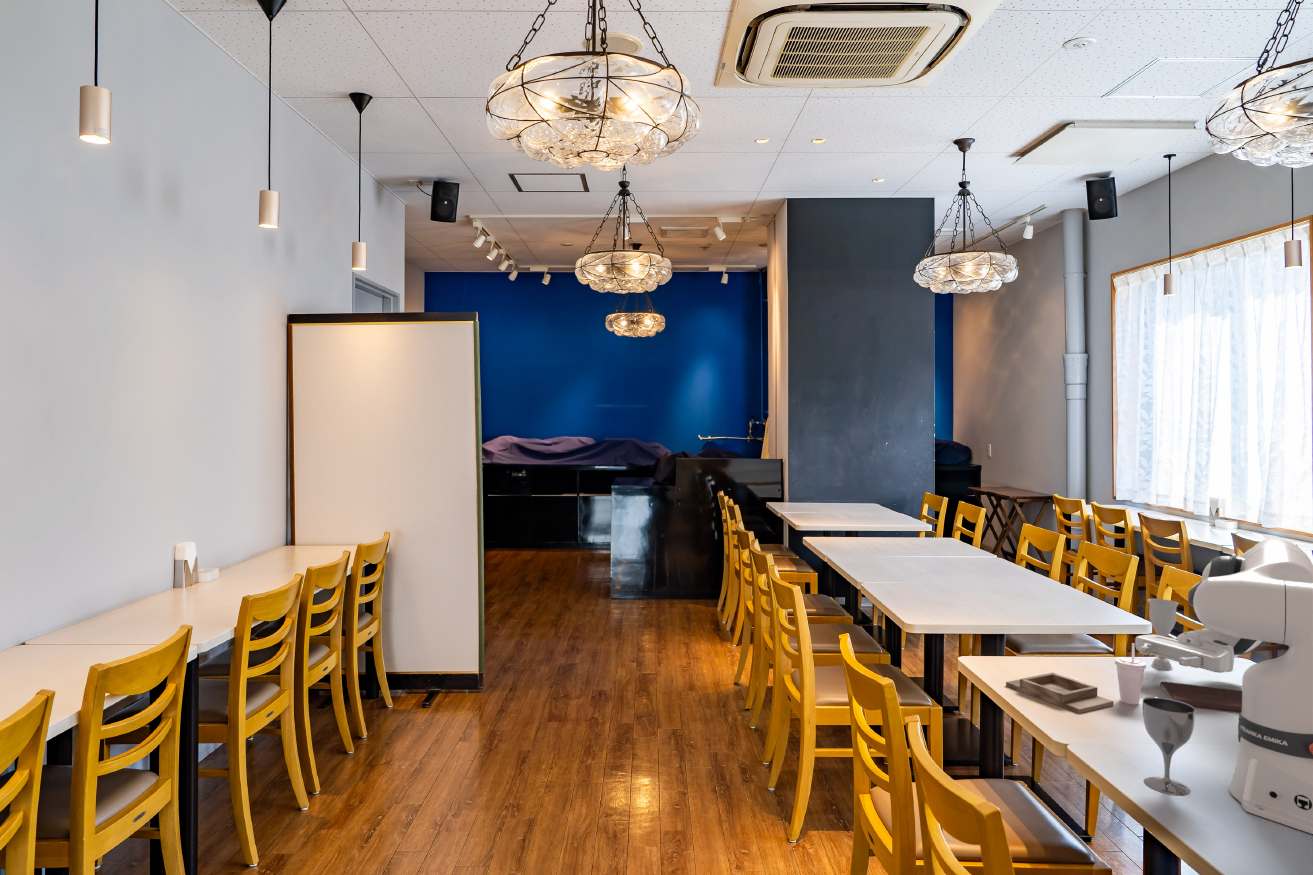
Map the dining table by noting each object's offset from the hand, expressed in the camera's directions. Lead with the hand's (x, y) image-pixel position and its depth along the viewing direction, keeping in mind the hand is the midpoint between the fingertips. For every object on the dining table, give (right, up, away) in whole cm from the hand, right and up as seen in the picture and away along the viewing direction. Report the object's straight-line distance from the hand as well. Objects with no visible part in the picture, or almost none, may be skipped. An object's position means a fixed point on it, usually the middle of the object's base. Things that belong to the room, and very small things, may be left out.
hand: (1162, 656), depth 187 cm
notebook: (+10, -10, -4) cm, 15 cm away
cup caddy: (-26, -9, -1) cm, 28 cm away
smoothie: (-11, -9, -5) cm, 16 cm away
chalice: (+14, -9, +21) cm, 27 cm away
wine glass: (-31, -10, -48) cm, 58 cm away
